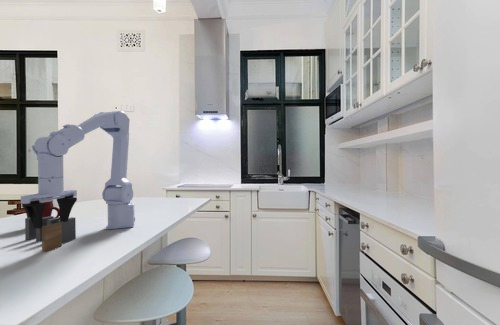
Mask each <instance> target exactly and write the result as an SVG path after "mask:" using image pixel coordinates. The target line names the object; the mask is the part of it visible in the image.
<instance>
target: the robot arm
mask: <svg viewBox="0 0 500 325" xmlns="http://www.w3.org/2000/svg"><path fill="white" fill-rule="evenodd" d="M62 127H63V128H61V129H58V130H57V131H51V132H50V133H49V135H48V136H41V137H38V138H37V139H36V140H35V142H34V144H33V145H32V146H31V148H32V151H33V153H34V154H35V155H36V160H37V177H38V178H37V181H38V182H37V186H38V188H37V189H38V190H37V191H38V193H34V194H28V195H21V196H20V204H21V207H22V208H23V209H24V210H25V213H26V212H27V213H28V215H29V217H30V219H31V222H32V224H33V228H38V229H39V228H42V222H43V211H44V207H45V205H46V204H43V203H41V202H39V201H45V200H56V201H57V207H58V208H59V211H60V216H59V217H60V221H61V222H67V221H68V219H69V218H70V214H71V212H72V209H73V207H74V205H75V204H76V202H77V200H78V198H77V195H78V193H77V192H78V191H77V190H76V189H72V190H71V189H70V190H64V188H65V187H64V155H67V153H68V152H69V150H70V148H72V147H73V146H75V145H77V144H79V143H80V142H82V141H83V140H85V137H86V136H85V135H87V134H88V133H90V132H93V131H95V130H97V129H98V128H99V129H101V130H102V131H104V132H105V133H107V134H108V135H109V136H111V137H112V139H113V140H112V142H113V143H112V157H111V168H110V178H109V179H108V180H107V181H106V182H105V183H104V188H103V190H102V199H103V201H104V202H105V204H107V225H106V226H105V227H104V229H105V230H115V229H116V230H117V229H127V228H134V226H135V222H136V217H135V202H131V201H132V200H133V197H134V191H133V183H132V182H131V181H130V180H128V179H127V178H128V177H127V176H128V160H129V145H130V144H129V143H130V118H129V116H128V115H127V114H126V113H125V111H122V110H118V111H117V110H116V111H109V112H108V111H100V112H99V113H95V114H94V115H93V116H91V117H89V118H87V119H86V120H85V121H83V122H81V123H79V124H78V125H76V124H69V123H68V124H64V125H63V126H62Z"/></svg>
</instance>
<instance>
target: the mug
mask: <svg viewBox="0 0 500 325" xmlns="http://www.w3.org/2000/svg"><path fill="white" fill-rule="evenodd" d="M53 200H54V199H52V200H45V201H39V202H41V203H43V204H46V205H45V207H44V211H43V218H44V217H48V216H52V214H53V210H55V211H56V213H57V214H56V216H54V218H57V217H60V211H59V207H58V206H54V203H53V202H54V201H53ZM25 214H26V218H30V217H29V215H28V213H27V212H26V211H25Z"/></svg>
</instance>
